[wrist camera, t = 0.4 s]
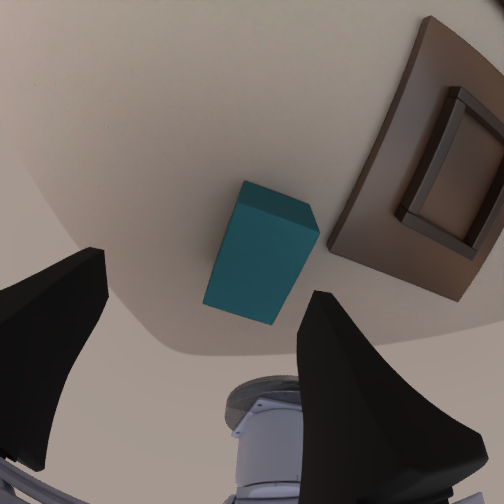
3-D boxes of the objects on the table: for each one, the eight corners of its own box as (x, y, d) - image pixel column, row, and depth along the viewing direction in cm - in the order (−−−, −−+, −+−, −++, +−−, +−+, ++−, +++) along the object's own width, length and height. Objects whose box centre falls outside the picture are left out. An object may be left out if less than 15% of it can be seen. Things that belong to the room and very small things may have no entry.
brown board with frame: (452, 295, 20) (464, 312, 18) (325, 244, 18) (332, 262, 16) (536, 121, 12) (555, 126, 10) (423, 17, 11) (440, 10, 9)
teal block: (271, 285, 20) (272, 326, 16) (213, 266, 19) (202, 304, 16) (309, 204, 17) (320, 232, 14) (244, 179, 17) (237, 202, 13)
